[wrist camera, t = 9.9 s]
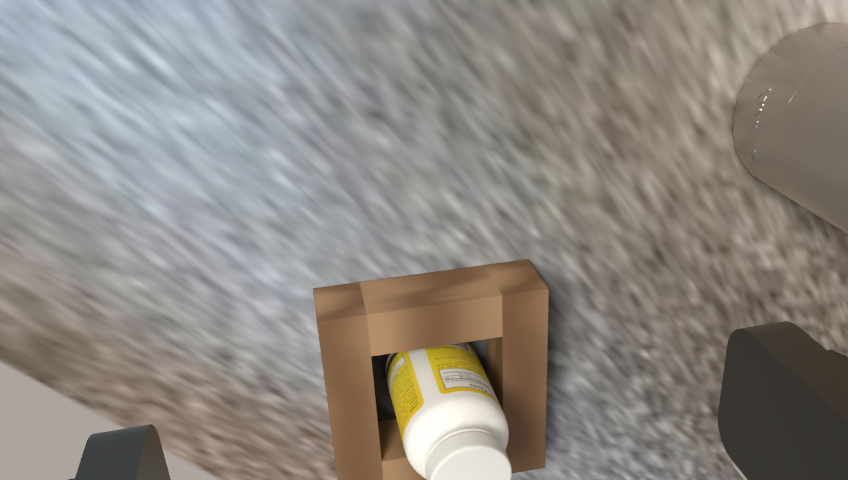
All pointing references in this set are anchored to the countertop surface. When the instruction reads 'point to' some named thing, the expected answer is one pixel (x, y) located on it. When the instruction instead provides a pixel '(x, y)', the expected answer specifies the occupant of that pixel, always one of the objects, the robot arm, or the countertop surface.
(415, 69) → the countertop surface
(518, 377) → the socket block
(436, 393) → the supplement bottle
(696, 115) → the countertop surface
